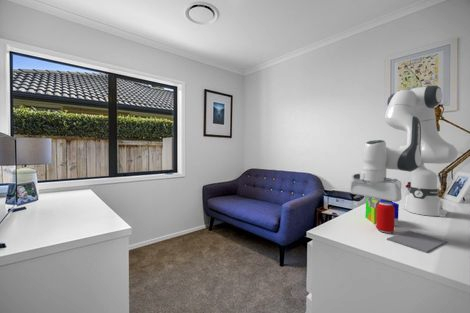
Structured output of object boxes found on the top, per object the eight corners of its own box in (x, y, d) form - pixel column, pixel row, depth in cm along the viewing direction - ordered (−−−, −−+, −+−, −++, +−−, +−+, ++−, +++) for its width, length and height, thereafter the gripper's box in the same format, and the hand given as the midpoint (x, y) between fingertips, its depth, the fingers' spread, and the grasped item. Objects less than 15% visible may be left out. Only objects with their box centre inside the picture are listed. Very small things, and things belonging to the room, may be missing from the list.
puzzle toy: (398, 225, 98) (398, 204, 98) (374, 223, 100) (374, 202, 100) (387, 218, 108) (387, 199, 108) (365, 217, 110) (366, 198, 110)
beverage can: (377, 227, 95) (377, 201, 95) (394, 231, 91) (395, 203, 91) (375, 231, 90) (376, 203, 90) (393, 235, 86) (394, 206, 86)
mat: (408, 231, 91) (408, 230, 91) (447, 242, 80) (447, 240, 80) (386, 239, 82) (387, 238, 82) (426, 252, 71) (426, 251, 71)
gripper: (405, 179, 87) (404, 212, 87) (356, 173, 105) (355, 201, 105) (397, 179, 84) (396, 214, 84) (348, 174, 102) (347, 203, 102)
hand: (373, 207), depth 95 cm, fingers closed
